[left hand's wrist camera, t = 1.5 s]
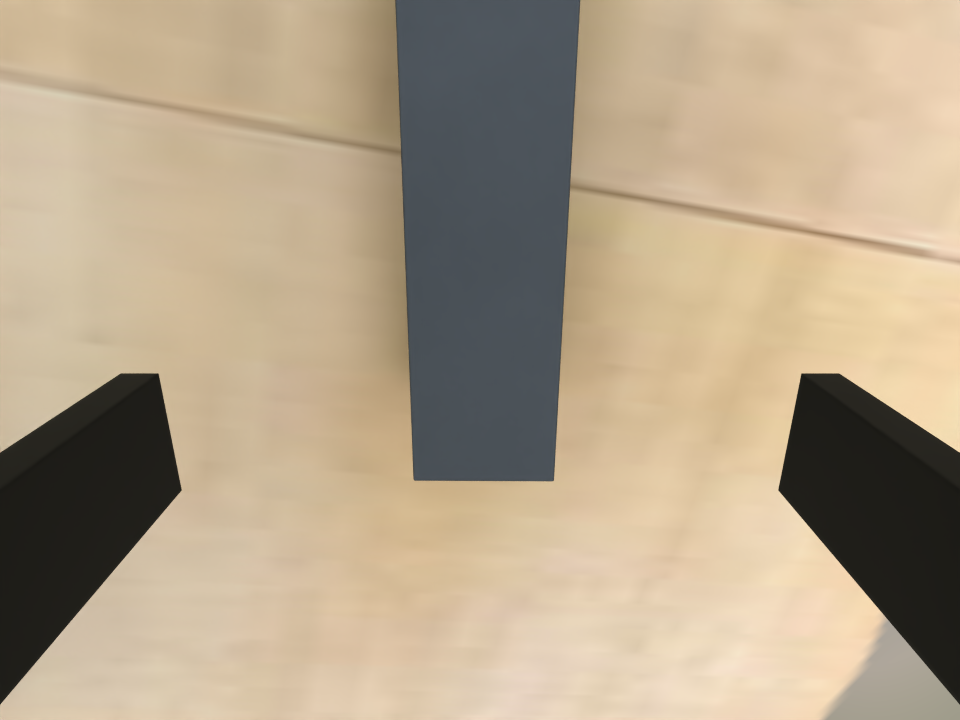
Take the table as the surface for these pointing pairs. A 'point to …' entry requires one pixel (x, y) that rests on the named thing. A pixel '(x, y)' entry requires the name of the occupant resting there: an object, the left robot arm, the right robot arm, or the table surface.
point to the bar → (485, 229)
